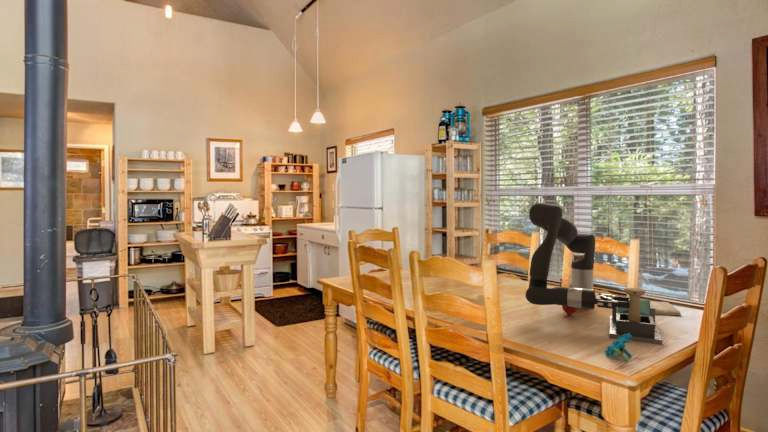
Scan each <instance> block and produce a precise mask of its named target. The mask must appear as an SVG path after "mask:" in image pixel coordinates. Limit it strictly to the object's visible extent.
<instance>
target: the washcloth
mask: <svg viewBox="0 0 768 432" xmlns="http://www.w3.org/2000/svg"><path fill="white" fill-rule="evenodd" d="M650 305H651V306H655V315H656V316H657V315H659V316H660V315H661V316H671V315H680V316H682V315H681V311H680V310H678V309H677V308H676V307H675V306H674V305H672V304H671V303H670V302H668V301H667V302H666V301H655V300H654V301H653V300H650Z"/></svg>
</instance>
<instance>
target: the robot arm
mask: <svg viewBox="0 0 768 432" xmlns="http://www.w3.org/2000/svg"><path fill="white" fill-rule="evenodd" d="M528 218H529V221H530V222H531V223H532V224H533V225H534V226H536V227H538V228H541V229H543V230H544V231H545V232H546V233H547V234H546V235H545V238H544V240H543V241H542V243H541V244H539V245H538V247H537V248H536V250H535V251H534V252H533V253H532V257H531V261H530V267H529V277H530V278H529V284H528V288H527V289H526V290H525V298H526V300H527V302H528V303H529V304H532V305H535V306H552V305H556V306H570V307H575V308H577V309H586V310H595V306H596V305H597V306H596V307H598V308H602V309H603V308H604V309H609V310H610V309H616V308H630V303H629V296H621V295H620V296H618V295H617V294H615V293H613V294H612V293H605V292H604V293H602V292H597V293H598V294H596V290H595V289H594V265H595V252H596V237H595V235H594V234H593V233H587V232H586V233H584V232H578V229H577V228H578V227H577V226H576V225H575V224H574V223H573V222H572V221H571V220H569V219H568V218H566V217H563V210H562V207H561V206H560V205H558V204H552V203H545V202H537V203H534V204H533V205H531V207H530V209H529V212H528ZM556 240H558V242H561V243H562V244H563V245H564V246H565V247H566V248H567V249H568V250H569V251H570V252H572V253H575V254H582V255H583V254H584V256H583V257H582V258H580V259H577V260H573V261H572V262H571V265H570V266H571V269H570V272H571V273H570V275H571V277H570V284H569V287H566V286H565V287H564V286H555V287H550V288H549V287H548V277H549V273H550V264H551V258H552V255H553V254H552V253H553V251H554V248H555V244H556Z"/></svg>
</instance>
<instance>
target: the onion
mask: <svg viewBox="0 0 768 432" xmlns="http://www.w3.org/2000/svg"><path fill="white" fill-rule="evenodd" d="M561 306H562V305H561ZM561 308H562V310H563V312H564V313H566V315H568V316H571V315H573V314H575V313H576V312H577V310H578V308H575V307H570V306H562V307H561Z"/></svg>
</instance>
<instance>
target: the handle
mask: <svg viewBox="0 0 768 432" xmlns="http://www.w3.org/2000/svg"><path fill="white" fill-rule="evenodd" d="M624 293H626V295H628V297H629V303H630V308H629V309H628V321H634V322H640V318H641V316H640V315H641V314H640V299H641V297H642V296H644V295H645V294H646V290H645V289H643V288H633V287H625V288H624Z"/></svg>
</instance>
